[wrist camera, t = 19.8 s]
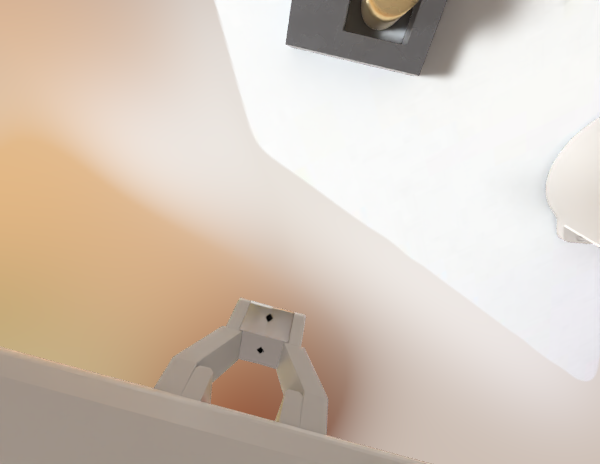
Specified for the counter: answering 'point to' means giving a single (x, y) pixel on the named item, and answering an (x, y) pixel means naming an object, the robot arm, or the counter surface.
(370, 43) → the jig plate
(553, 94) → the counter surface
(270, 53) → the counter surface
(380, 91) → the counter surface
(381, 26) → the gold round-topped cylinder
